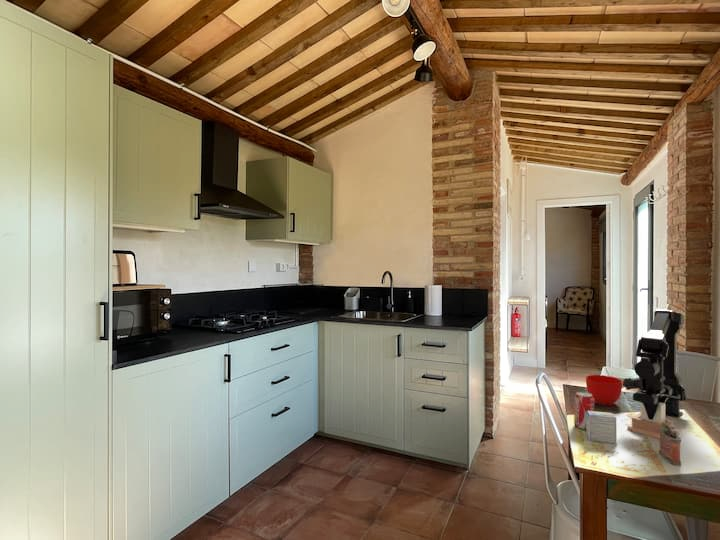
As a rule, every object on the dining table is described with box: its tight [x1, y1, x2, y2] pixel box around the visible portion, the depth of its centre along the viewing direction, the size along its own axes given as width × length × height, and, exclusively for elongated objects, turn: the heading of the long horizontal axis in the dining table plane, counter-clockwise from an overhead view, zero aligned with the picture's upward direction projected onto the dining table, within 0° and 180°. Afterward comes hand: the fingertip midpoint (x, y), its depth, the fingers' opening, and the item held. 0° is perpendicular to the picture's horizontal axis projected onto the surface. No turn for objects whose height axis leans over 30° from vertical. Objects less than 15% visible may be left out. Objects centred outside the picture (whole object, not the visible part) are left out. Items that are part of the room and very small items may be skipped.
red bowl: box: [585, 374, 623, 406], centre depth 167 cm, size 13×17×10 cm
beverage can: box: [573, 391, 595, 431], centre depth 140 cm, size 6×6×12 cm
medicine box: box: [586, 410, 618, 444], centre depth 130 cm, size 8×4×9 cm, turn 71°
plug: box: [640, 402, 666, 424], centre depth 136 cm, size 4×6×8 cm, turn 36°
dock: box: [627, 412, 680, 440], centre depth 136 cm, size 10×12×4 cm
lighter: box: [658, 422, 682, 467], centre depth 117 cm, size 8×3×10 cm, turn 168°
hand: (652, 417), depth 136 cm, fingers closed on plug, 4 cm apart
